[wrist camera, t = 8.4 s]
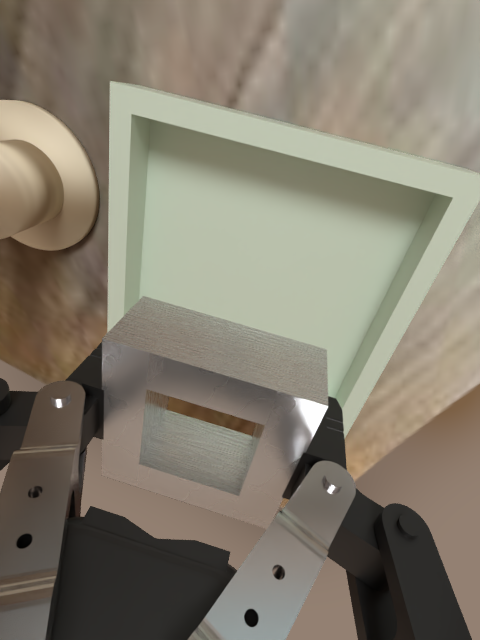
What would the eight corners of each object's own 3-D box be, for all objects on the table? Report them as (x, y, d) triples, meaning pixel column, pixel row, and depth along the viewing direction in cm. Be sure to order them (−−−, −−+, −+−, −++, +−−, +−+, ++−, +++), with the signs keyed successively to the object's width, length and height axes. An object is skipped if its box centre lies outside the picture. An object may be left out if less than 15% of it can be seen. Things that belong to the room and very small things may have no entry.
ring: (142, 295, 11) (101, 338, 9) (326, 349, 11) (328, 406, 9) (133, 422, 14) (101, 475, 12) (275, 466, 14) (268, 529, 12)
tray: (138, 84, 17) (109, 81, 15) (468, 169, 16) (491, 178, 14) (126, 344, 26) (107, 367, 23) (342, 408, 25) (344, 439, 23)
